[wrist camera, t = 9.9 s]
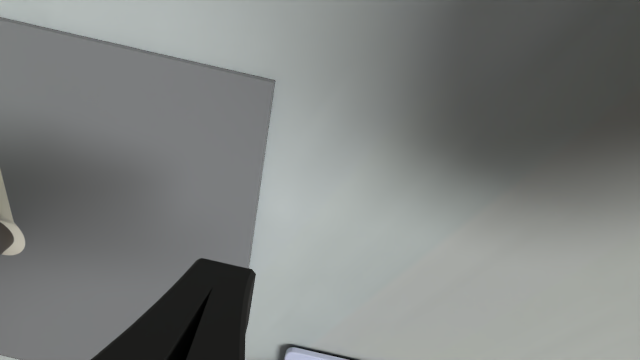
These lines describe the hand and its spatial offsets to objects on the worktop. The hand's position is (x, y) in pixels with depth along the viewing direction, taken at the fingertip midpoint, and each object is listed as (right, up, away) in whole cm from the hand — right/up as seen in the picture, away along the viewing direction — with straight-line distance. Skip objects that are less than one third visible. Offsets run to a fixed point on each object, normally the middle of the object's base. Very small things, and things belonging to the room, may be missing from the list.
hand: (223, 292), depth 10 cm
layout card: (-15, 0, +13) cm, 20 cm away
